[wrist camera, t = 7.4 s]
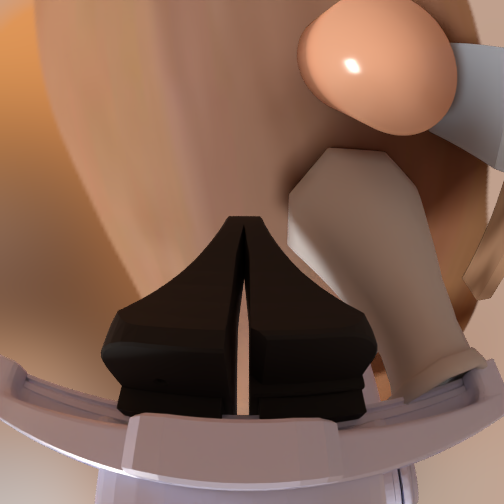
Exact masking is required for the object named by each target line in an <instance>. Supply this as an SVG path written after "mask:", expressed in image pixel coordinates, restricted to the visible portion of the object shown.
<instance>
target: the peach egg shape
mask: <svg viewBox="0 0 504 504" xmlns="http://www.w3.org/2000/svg"><path fill="white" fill-rule="evenodd" d="M297 62H298V67H299V70H300V74H301V76H302V78H303V80H304V82H305V83H306V85H307V87H308V88H309V89H310V91H311V92H312V93H313V94H314V95H315V96H316V97H317V98H318V99H319V100H321V101H322V102H323V103H324V104H326V105H328V106H329V107H331V108H333V109H335V110H337V111H340V112H342V113H344V114H346V115H348V116H350V117H352V118H354V119H356V120H358V121H360V122H362V123H364V124H366V125H368V126H370V127H372V128H374V129H377V130H379V131H381V132H384V133H388V134H393V135H414V134H418V133H421V132H424V131H426V130H428V129H430V128H432V127H433V126H435V125H436V124H437V123H438V122H439V121H440V120H442V118H443V117H444V116H445V115H446V113H447V112H448V110H449V108H450V107H451V104H452V102H453V100H454V96H455V93H456V87H457V66H456V61H455V57H454V53H453V50H452V47H451V45H450V43H449V40H448V39H447V37H446V35H445V33H444V32H443V30H442V29H441V27H440V26H439V24H438V23H437V22H436V21H435V20H434V18H433V17H432V16H431V15H430V14H429V13H427V12H426V11H425V10H424V9H423V8H422V7H420V6H419V5H418V4H416V3H414V2H413V1H411V0H341V1H339V2H338V3H336V4H335V5H334V6H332V7H331V8H330V9H328V10H327V11H325V12H324V13H323V14H321V15H320V16H319V17H318V18H316V19H315V20H314V21H312V22H311V23H310V24H309V25H308V26H307V27H306V29H305V30H304V32H303V33H302V35H301V37H300V39H299V43H298V48H297Z"/></svg>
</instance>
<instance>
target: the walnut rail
mask: <svg viewBox="0 0 504 504" xmlns="http://www.w3.org/2000/svg"><path fill="white" fill-rule="evenodd" d="M503 277H504V182H503V185H502V188H501V191H500V194H499V197H498V200H497V203H496V206H495V208H494V211H493V214H492V216H491V219H490V221H489V224H488V226H487V229H486V231H485V233H484V236H483V238H482V240H481V242H480V244H479V247H478V249H477V251H476V253H475V255H474V257H473V259H472V261H471V263H470V265H469V267H468V269H467V271H466V272H465V274H464V276H463V278H462V279H463V280H464V282H465V283H466V285H467V286H468V288H469V289H470V291H471V292H472V294H473V295H474V297H475V298H476V300H483V299H489V298H491V297H492V295H493V293H494V292H495V290H496V289H497V287H498V285H499V284H500V282H501V280H502V279H503Z"/></svg>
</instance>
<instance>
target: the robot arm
mask: <svg viewBox="0 0 504 504" xmlns="http://www.w3.org/2000/svg"><path fill="white" fill-rule="evenodd" d="M244 280H245V291H246V301H247V311H248V320H249V415H237V347H238V322H239V314H240V306H241V299H242V291H243V283H244ZM377 352H378V344H377V341H376V338H375V336H374V333H373V330H372V328H371V326H370V324H369V322H368V320H367V318H366V316H365V314H364V313H363V312H361V311H359V310H357V309H356V308H354V307H352V306H350V305H348V304H346V303H344V302H343V301H341V300H339V299H338V298H336V297H334V296H333V295H331V294H330V293H328V292H327V291H325V290H324V289H322V288H321V287H320V286H318V285H317V284H316V283H315V282H313V281H312V280H311V279H309V278H308V277H307V276H306V275H305V274H303V273H302V272H301V271H300V270H299V269H298V268H297V267H296V266H295V265H294V264H293V263H292V262H291V260H290V259H289V258H288V257H287V256H286V255H285V253H284V252H283V251H282V250H281V248H280V247H279V246H278V244H277V243H276V242H275V240H274V239H273V237H272V236H271V234H270V233H269V231H268V229H267V228H266V226H265V224H264V222H263V220H262V218H261V217H260V216H229V217H228V218H227V219H226V221H225V222H224V224H223V226H222V227H221V229H220V230H219V232H218V233H217V234H216V236H215V237H214V238H213V240H212V241H211V242H210V243H209V245H208V246H207V247H206V248H205V249H204V250H203V252H202V253H201V254H200V255H199V256H198V257H197V258H196V259H195V260H194V261H193V262H192V263H191V264H190V265H189V266H188V267H187V268H186V269H185V270H183V271H182V272H181V273H180V274H178V275H177V276H176V277H175V278H173V279H172V280H171V281H169V282H168V283H167V284H165V285H164V286H162V287H161V288H159V289H158V290H156V291H154V292H153V293H151V294H150V295H148V296H146V297H144V298H143V299H141V300H139V301H137V302H135V303H133V304H131V305H129V306H127V307H125V308H123V309H121V310H119V311H118V312H117V314H116V316H115V318H114V320H113V321H112V323H111V326H110V328H109V331H108V334H107V336H106V339H105V342H104V345H103V347H102V350H101V358H102V360H103V362H104V363H105V365H106V367H107V368H108V369H109V371H110V372H111V373H112V374H113V376H114V377H115V378H116V379H117V381H118V382H119V383H120V384H121V385H122V387H121V391H120V396H119V399H118V401H114V400H110V399H105V398H101V397H97V396H93V395H89V394H86V393H82V392H79V391H75V390H72V389H69V388H66V387H63V386H60V385H57V384H54V383H51V382H48V381H45V380H42V379H40V378H37V377H35V376H32V375H30V374H27V372H26V371H25V370H24V369H23V367H21V366H20V365H19V364H18V363H16V362H15V361H14V360H12V359H9V358H7V357H5V356H2V355H0V420H1V421H3V422H4V423H6V424H8V425H9V426H11V427H12V428H14V429H15V430H17V431H18V432H20V433H22V434H24V435H25V436H27V437H29V438H31V439H32V440H34V441H36V442H38V443H40V444H42V445H44V446H46V447H48V448H50V449H52V450H54V451H56V452H58V453H61V454H63V455H65V456H67V457H70V458H72V459H74V460H77V461H79V462H82V463H84V464H87V465H90V466H92V467H95V468H98V469H99V473H98V480H97V488H96V496H95V504H417V503H418V484H417V477H416V471H415V466H414V463H417V462H419V461H422V460H424V459H427V458H429V457H431V456H434V455H436V454H438V453H440V452H442V451H444V450H446V449H448V448H451V447H453V446H455V445H456V444H459V443H460V442H462V441H464V440H466V439H468V438H470V437H472V436H473V435H475V434H477V433H478V432H480V431H482V430H483V429H485V428H487V427H488V426H490V425H491V424H493V423H494V422H496V421H497V420H499V419H500V418H502V417H503V416H504V383H503V380H502V378H501V375H500V373H499V371H498V368H497V366H496V364H495V362H494V359H490V360H487V361H486V363H487V367H486V368H484V369H479V370H477V369H476V368H473V369H471V370H469V371H468V372H467V373H466V374H465V375H464V376H463V378H461V379H458V380H455V381H453V382H450V383H447V384H444V385H441V386H438V387H435V388H433V389H431V390H430V391H428V392H426V393H425V394H423V395H421V396H420V397H418V398H416V399H414V400H413V401H411V402H410V403H409V404H404V401H405V400H404V397H399V398H395V399H391V400H386V401H382V402H381V401H380V397H379V393H378V389H377V385H376V381H375V378H374V374H373V370H372V367H371V362H372V361H373V359H374V358H375V355H376V354H377Z"/></svg>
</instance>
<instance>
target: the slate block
mask: <svg viewBox="0 0 504 504" xmlns="http://www.w3.org/2000/svg"><path fill="white" fill-rule="evenodd" d="M450 45H451V47H452V50H453V53H454V57H455V61H456V66H457V87H456V93H455V96H454V100H453V102H452V104H451V107H450V108H449V110H448V112H447V113H446V115H445V116H444V117H443V118H442V120H440V121H439V122H438V123H437V124H436V125H435V126H433V127H432V128H430V129H429V132H431V133H433V134H435V135H437V136H439V137H441V138H443V139H445V140H447V141H449V142H451V143H453V144H454V145H456V146H458V147H460V148H462V149H463V150H465V151H467V152H469V153H470V154H472V155H474V156H475V157H477V158H479V159H480V160H482V161H483V162H485V163H486V164H488V165H489V166H491V167H493V168H494V169H496V170H499V171H502V172H504V48H502V47H496V46H487V45H478V44H466V43H450Z"/></svg>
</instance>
